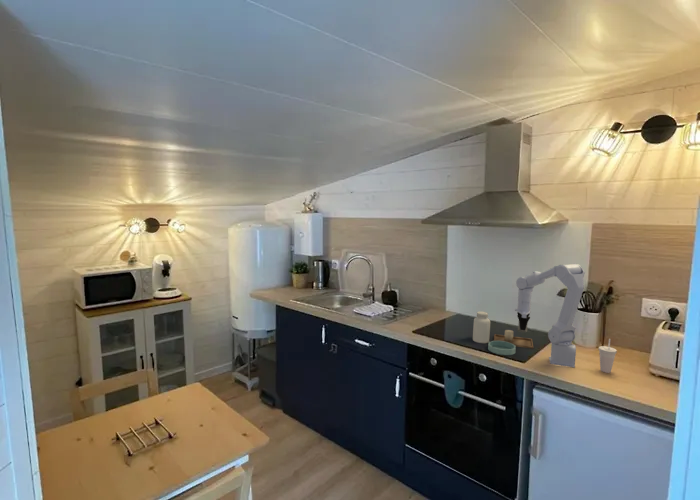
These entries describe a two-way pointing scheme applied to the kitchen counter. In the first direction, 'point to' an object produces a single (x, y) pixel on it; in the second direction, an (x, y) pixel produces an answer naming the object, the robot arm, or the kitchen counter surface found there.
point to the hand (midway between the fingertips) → (522, 328)
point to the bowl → (501, 347)
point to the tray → (516, 341)
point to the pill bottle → (481, 328)
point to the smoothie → (606, 357)
